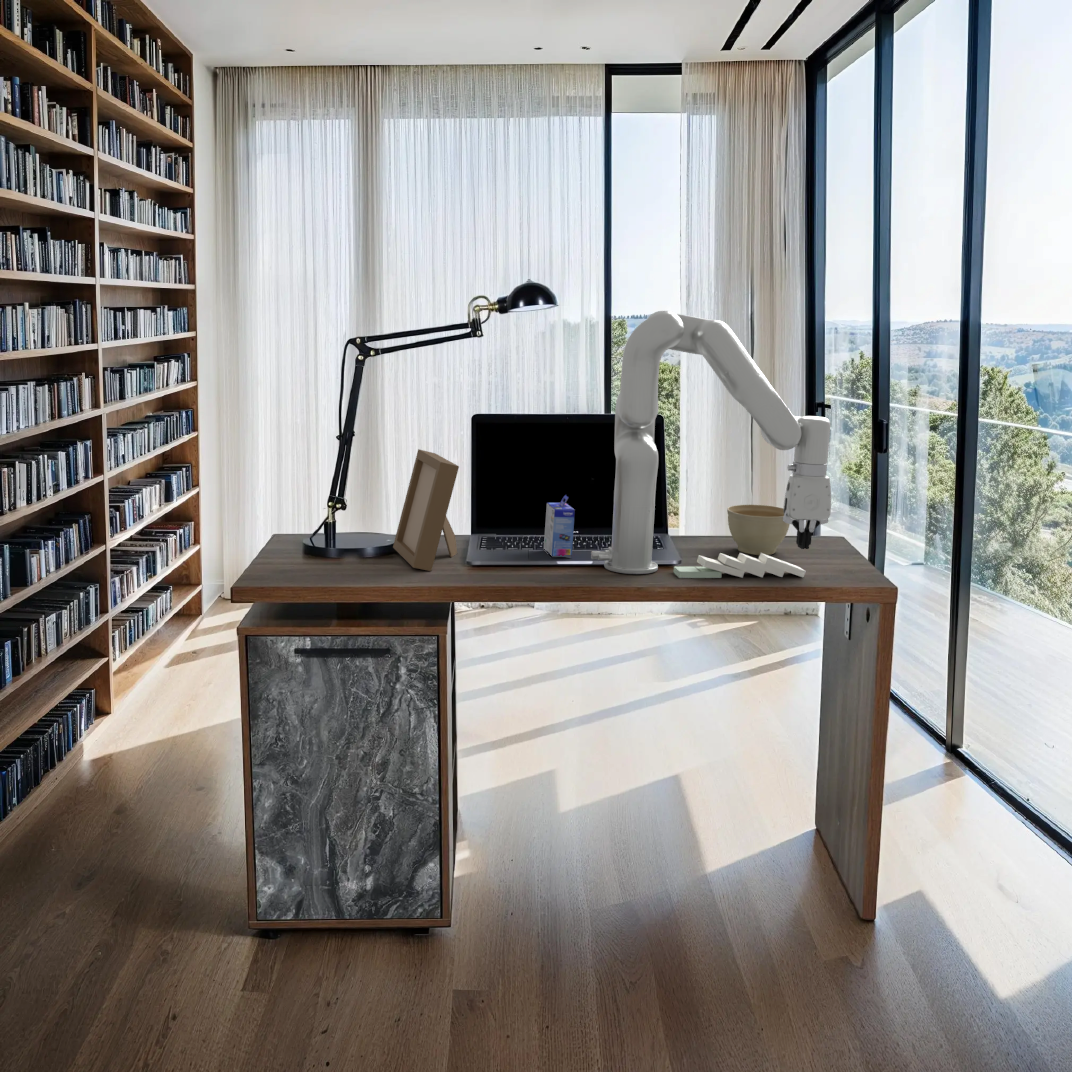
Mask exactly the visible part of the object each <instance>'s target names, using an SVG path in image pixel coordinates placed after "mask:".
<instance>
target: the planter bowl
mask: <svg viewBox="0 0 1072 1072" xmlns="http://www.w3.org/2000/svg"><path fill="white" fill-rule="evenodd" d="M783 517H784V512H783V507H779V506H775V505H765V504H737V505H732V506H731V505H730V506H728V507H727V525H728V528H729V532H730V534H731V537H732V539H733V541H734V542H735V544H736V545H737V551H738V552H739V553H742V554H746V555H753V556H755V555H756V556H760V554H761V553H763V554H765V555H768V556H771V555H773V554H775V553H776V552H777V550H778V549H777V548H778V547H779V546H780V545H781V544H782V543H783V541H784V539H785V537H786V536H787V534H788V531H789V528H790V525H791V524H788V523H785V522H783Z"/></svg>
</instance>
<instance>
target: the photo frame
mask: <svg viewBox="0 0 1072 1072" xmlns="http://www.w3.org/2000/svg"><path fill="white" fill-rule="evenodd" d="M459 468H460V466H459V465H458V464H455V463H453V462H452V461H450V460H449V459H447V458H445V457H443V456H441V455H439V454H437V453H436V452H435V453H434V452H431V451H427V450H424V449H423V450H422V449H419V448H418V449H417V453H416V456H415V461H414V465H413V467H412V472H411V476H410V480H409V483H408V487H407V491H406V494H405V499H404V503H403V507H402V510H401V514H400V518H399V522H398V526H397V531H396V533H395V538H394V541H393V546H392V548H393V549H394V550H395V551H396V552H397V553H398V554H399V555H400V556H401V558H403V559H404V560H405V561H406V562H407V563H408V564H409V565H410V566H411V567H412V568H413V569H417V570H418V569H420V570H425V571H428V572H432V570H433V567H434V563H435V559H436V554H437V552H438V551H437V550H438V547H439V544H440V540H441V536H442V533H443V536H444V541H445V544H446V547H447V551H448V555H449V557H450V558H453V557H454V556H456V555H457V554H458V549H457V539H456V535H455V532H454V530H453V527H452V525H451V524H450V521H449V519H448V517H447V514H448V510H449V507H450V502H451V498H452V494H453V492H454V487H455V483H456V480H457V476H458V472H459Z"/></svg>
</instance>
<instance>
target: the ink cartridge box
mask: <svg viewBox="0 0 1072 1072" xmlns="http://www.w3.org/2000/svg"><path fill="white" fill-rule="evenodd" d="M568 500H569V496H567V494H565V495H564V496H563V497H562V499H561V501H560V502H546V510H545V511H546V512H545V524H544V525H545V527H544V539H543V540H544V541H543V550H544V549H545V550H547V551H548V552H549V553H550V555H551V556H560V555H562V556H564V555H572V556H573V543H574V541H573V540H574V530H575V529H574V526H575V514H576V512H575V511H576V509H574V508H573V507H572V506H571V505H569V503H567V501H568ZM545 550H544V551H545Z"/></svg>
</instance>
